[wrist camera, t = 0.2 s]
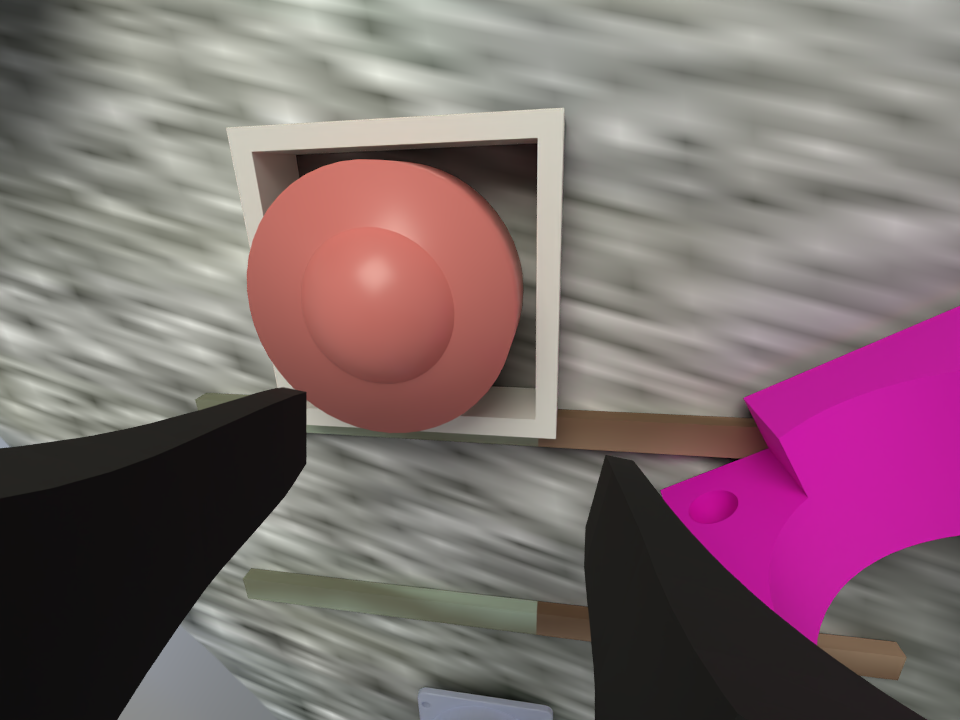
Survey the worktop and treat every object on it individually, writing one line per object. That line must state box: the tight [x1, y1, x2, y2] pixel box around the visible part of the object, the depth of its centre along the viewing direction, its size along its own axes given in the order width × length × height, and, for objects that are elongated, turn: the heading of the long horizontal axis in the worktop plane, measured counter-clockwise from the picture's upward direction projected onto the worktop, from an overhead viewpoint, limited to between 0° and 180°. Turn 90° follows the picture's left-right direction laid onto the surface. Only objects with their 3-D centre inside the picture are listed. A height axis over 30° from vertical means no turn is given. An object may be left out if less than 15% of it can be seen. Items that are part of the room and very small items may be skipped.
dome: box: [247, 159, 523, 433], centre depth 17 cm, size 9×9×6 cm
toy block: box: [660, 306, 960, 645], centre depth 16 cm, size 15×6×8 cm, turn 122°
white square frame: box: [226, 108, 565, 439], centre depth 19 cm, size 12×12×3 cm
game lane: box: [196, 393, 907, 680], centre depth 24 cm, size 13×34×1 cm, turn 92°
